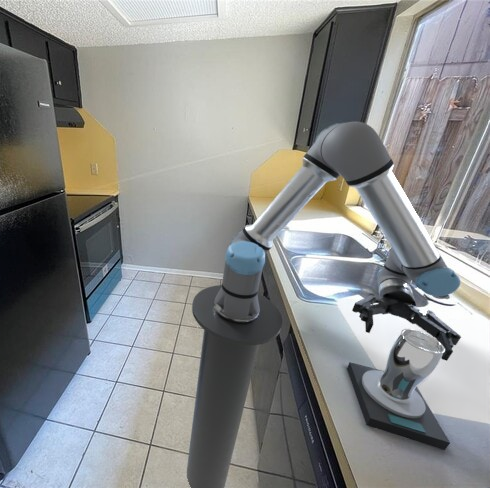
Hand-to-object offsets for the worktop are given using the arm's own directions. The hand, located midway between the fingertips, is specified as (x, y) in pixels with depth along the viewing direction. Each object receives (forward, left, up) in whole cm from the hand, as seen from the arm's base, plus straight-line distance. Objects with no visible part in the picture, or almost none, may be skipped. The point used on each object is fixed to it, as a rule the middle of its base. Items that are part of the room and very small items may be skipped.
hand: (406, 341), depth 58 cm
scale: (+7, -2, -13) cm, 15 cm away
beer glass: (+6, -1, -10) cm, 12 cm away
